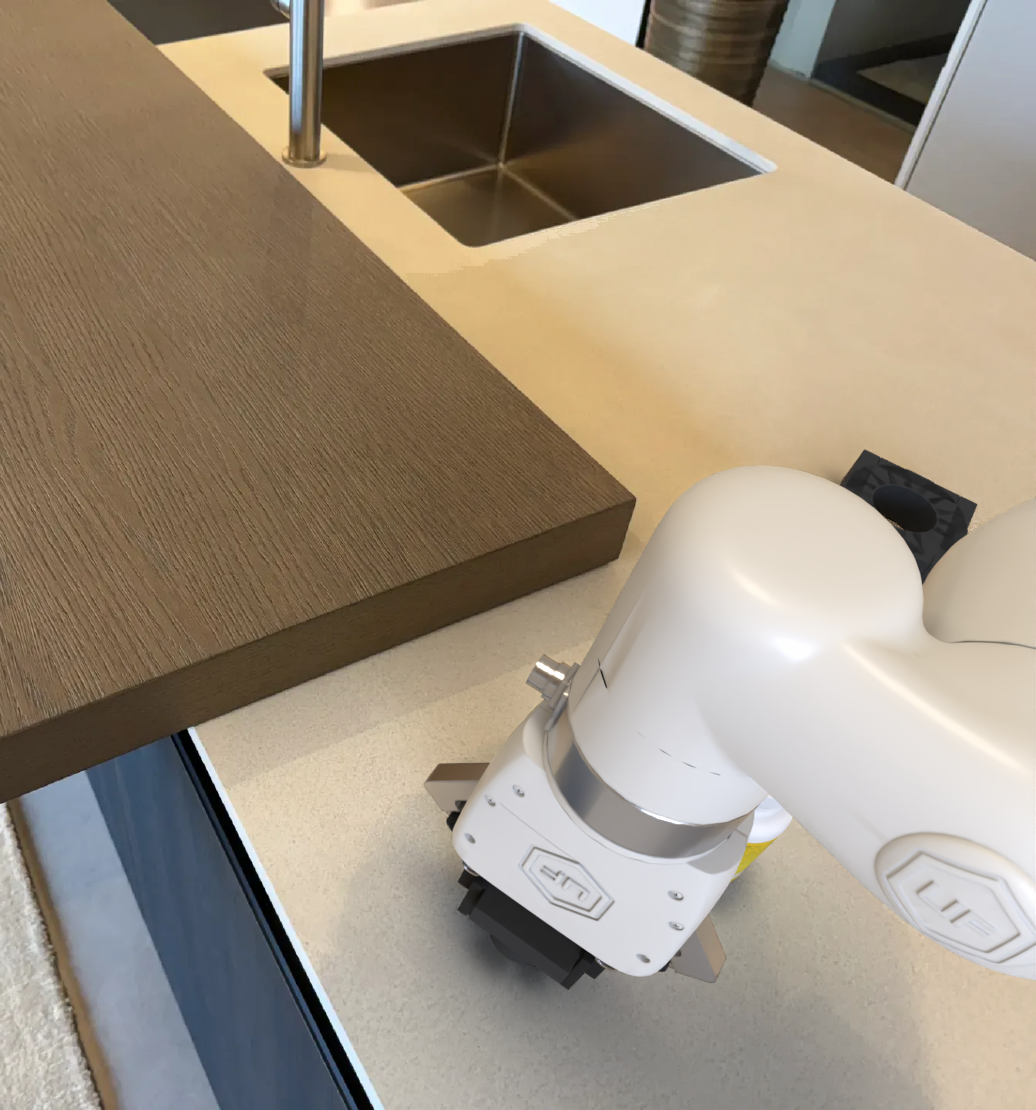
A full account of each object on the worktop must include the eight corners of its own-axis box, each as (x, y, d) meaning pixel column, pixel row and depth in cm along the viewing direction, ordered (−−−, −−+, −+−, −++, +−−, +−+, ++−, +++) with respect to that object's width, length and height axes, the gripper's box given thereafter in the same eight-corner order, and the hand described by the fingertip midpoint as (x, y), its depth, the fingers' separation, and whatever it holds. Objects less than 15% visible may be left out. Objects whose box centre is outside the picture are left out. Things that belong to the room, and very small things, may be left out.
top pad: (586, 923, 54) (615, 889, 50) (541, 1003, 51) (568, 973, 48) (502, 864, 55) (524, 828, 52) (454, 939, 53) (474, 906, 49)
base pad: (954, 532, 74) (980, 503, 72) (924, 603, 70) (950, 575, 67) (842, 476, 77) (863, 447, 74) (806, 541, 72) (827, 512, 70)
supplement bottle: (749, 833, 58) (835, 746, 50) (722, 914, 55) (810, 836, 47) (656, 783, 59) (727, 692, 52) (624, 860, 56) (695, 775, 49)
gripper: (406, 692, 39) (344, 880, 53) (846, 981, 34) (648, 1105, 48) (502, 572, 43) (422, 776, 57) (909, 812, 38) (710, 972, 52)
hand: (526, 924), depth 53 cm, fingers closed on top pad, 5 cm apart
